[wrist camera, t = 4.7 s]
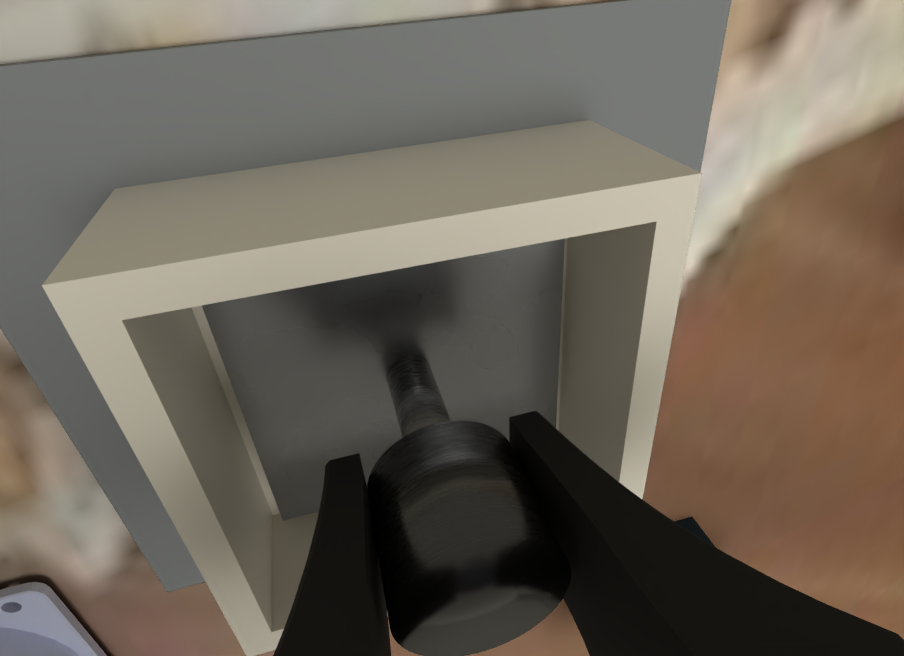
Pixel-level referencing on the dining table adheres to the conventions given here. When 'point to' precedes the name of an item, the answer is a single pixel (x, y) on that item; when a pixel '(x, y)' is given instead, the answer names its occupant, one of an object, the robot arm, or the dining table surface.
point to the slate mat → (304, 148)
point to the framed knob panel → (352, 255)
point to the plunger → (417, 428)
